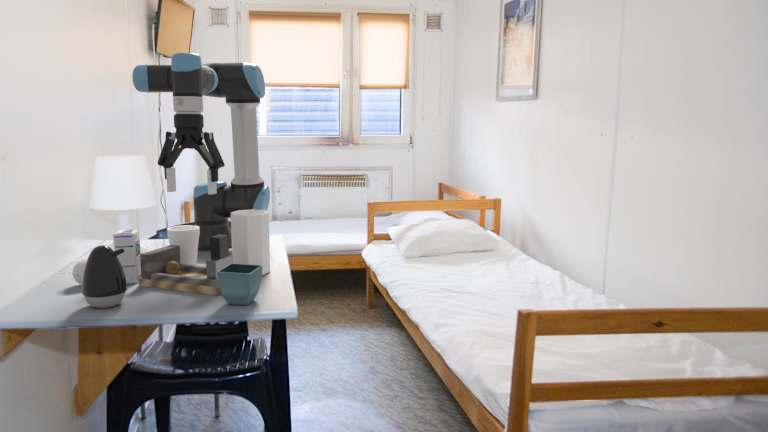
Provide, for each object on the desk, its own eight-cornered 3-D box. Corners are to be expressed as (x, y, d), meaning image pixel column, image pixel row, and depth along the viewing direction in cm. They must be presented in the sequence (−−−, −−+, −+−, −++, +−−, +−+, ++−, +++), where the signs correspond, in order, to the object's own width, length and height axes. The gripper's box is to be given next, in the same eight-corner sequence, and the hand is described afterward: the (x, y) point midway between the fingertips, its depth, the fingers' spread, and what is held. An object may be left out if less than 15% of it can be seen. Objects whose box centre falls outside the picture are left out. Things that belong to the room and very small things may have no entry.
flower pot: (251, 308, 150) (250, 273, 149) (217, 306, 152) (216, 271, 150) (264, 298, 159) (263, 264, 158) (231, 296, 160) (230, 263, 159)
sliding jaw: (206, 282, 165) (205, 238, 163) (225, 274, 173) (223, 232, 171) (216, 283, 164) (214, 239, 162) (234, 275, 172) (232, 233, 170)
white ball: (105, 280, 175) (103, 255, 174) (99, 287, 168) (97, 261, 167) (67, 282, 173) (65, 257, 172) (59, 289, 166) (57, 263, 165)
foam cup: (191, 274, 183) (189, 231, 181) (163, 272, 185) (161, 230, 183) (206, 266, 192) (204, 225, 190) (179, 265, 194) (177, 224, 192)
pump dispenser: (120, 311, 148) (116, 249, 146) (76, 312, 147) (71, 250, 145) (134, 298, 158) (130, 241, 156) (92, 299, 157) (88, 241, 155)
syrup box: (138, 283, 173) (135, 232, 170) (116, 284, 172) (112, 233, 169) (142, 278, 178) (139, 229, 176) (121, 278, 177) (118, 229, 175)
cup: (267, 277, 180) (266, 214, 177) (229, 277, 179) (227, 215, 176) (272, 267, 191) (270, 209, 188) (235, 268, 190) (233, 209, 187)
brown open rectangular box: (139, 285, 170) (137, 254, 169) (172, 273, 183) (170, 244, 182) (218, 295, 161) (217, 262, 160) (247, 282, 174) (246, 251, 173)
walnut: (171, 272, 177) (170, 258, 176) (182, 273, 175) (182, 260, 175) (162, 275, 173) (161, 261, 172) (173, 277, 172) (173, 263, 171)
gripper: (141, 113, 164) (145, 192, 167) (218, 112, 154) (221, 196, 158) (161, 113, 171) (164, 189, 174) (236, 113, 161) (238, 193, 164)
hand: (191, 193), depth 166 cm, fingers open, 13 cm apart
